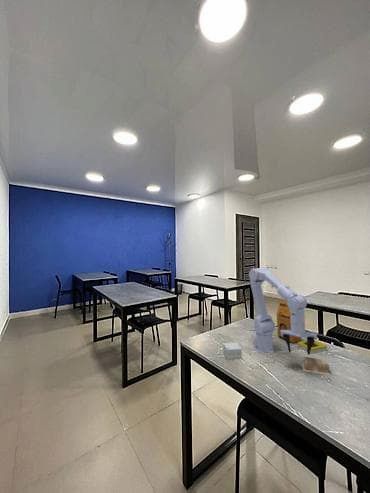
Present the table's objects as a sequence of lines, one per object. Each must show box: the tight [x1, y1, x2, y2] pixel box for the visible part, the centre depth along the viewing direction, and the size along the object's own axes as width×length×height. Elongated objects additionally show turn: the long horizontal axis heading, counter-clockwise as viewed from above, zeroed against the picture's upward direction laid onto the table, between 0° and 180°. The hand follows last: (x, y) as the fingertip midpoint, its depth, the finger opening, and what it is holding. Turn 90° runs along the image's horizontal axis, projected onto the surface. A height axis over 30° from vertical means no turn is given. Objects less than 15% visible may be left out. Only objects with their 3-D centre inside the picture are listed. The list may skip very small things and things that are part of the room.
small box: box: [223, 342, 243, 360], centre depth 111 cm, size 8×8×5 cm
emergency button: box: [295, 339, 331, 355], centre depth 115 cm, size 9×4×15 cm
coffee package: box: [276, 300, 302, 344], centre depth 128 cm, size 10×12×22 cm
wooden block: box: [303, 356, 330, 374], centre depth 95 cm, size 4×4×9 cm
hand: (298, 352), depth 97 cm, fingers open, 7 cm apart
